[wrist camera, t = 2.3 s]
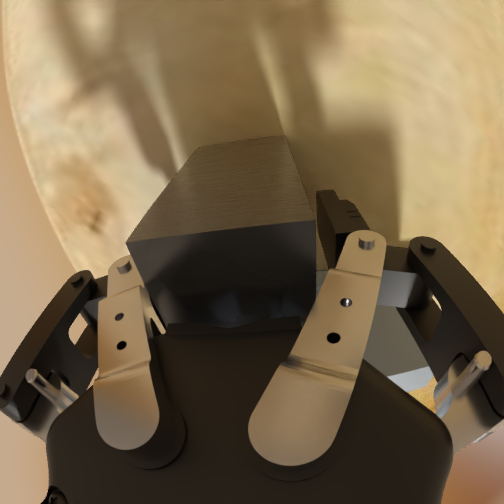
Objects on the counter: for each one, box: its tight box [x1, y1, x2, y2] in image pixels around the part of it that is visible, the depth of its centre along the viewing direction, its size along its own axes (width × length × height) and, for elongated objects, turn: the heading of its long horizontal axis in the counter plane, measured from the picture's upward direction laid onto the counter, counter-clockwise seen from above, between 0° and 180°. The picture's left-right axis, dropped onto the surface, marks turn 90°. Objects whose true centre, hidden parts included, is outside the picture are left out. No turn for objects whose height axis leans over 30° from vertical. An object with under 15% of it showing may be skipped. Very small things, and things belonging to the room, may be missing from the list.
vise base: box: [316, 270, 434, 392], centre depth 19 cm, size 20×11×7 cm, turn 8°
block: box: [125, 136, 316, 328], centre depth 10 cm, size 4×6×8 cm, turn 8°
